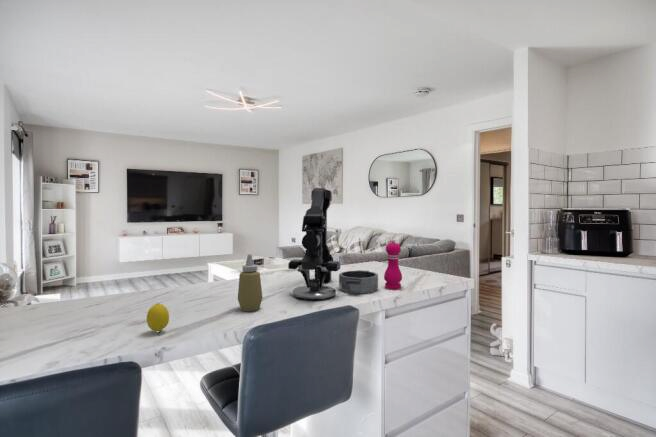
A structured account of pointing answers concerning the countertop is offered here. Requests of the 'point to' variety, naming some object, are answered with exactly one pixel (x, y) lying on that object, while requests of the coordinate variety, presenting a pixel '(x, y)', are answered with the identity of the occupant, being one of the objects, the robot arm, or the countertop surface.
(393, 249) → the pepper mill
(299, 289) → the lid
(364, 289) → the pot
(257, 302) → the squeeze bottle
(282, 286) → the countertop surface
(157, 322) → the lemon
